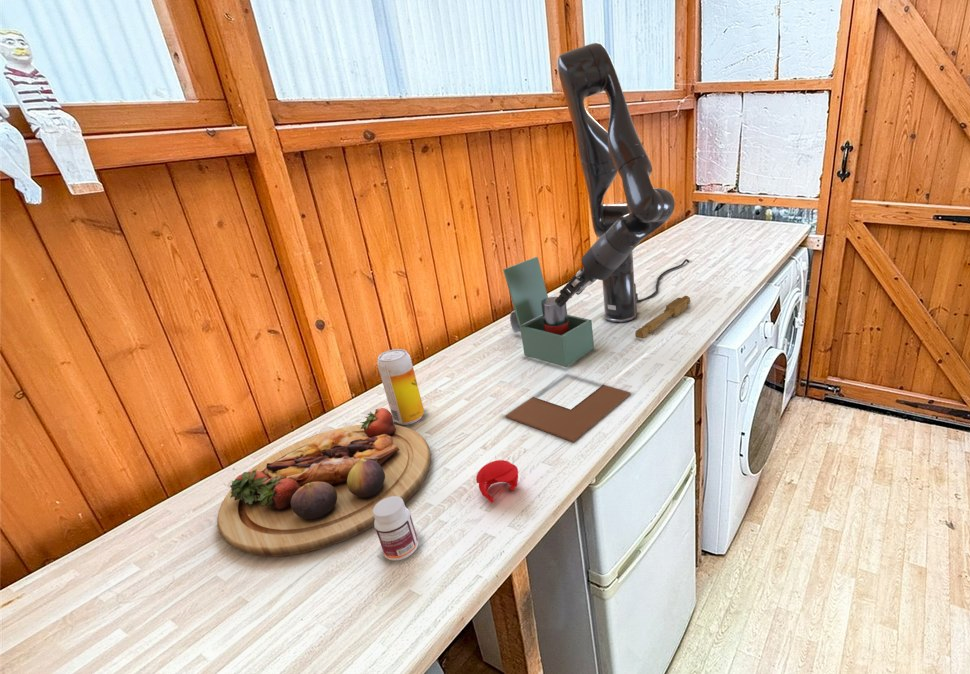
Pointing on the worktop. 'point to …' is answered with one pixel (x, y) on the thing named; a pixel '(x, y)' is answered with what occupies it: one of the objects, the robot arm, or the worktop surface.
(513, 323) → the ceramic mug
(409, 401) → the beer can
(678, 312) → the tap handle
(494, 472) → the cap
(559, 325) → the tin
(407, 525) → the pill bottle
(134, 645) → the worktop surface
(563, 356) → the bin
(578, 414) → the mat
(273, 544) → the wooden plate
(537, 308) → the bin lid
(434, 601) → the worktop surface
